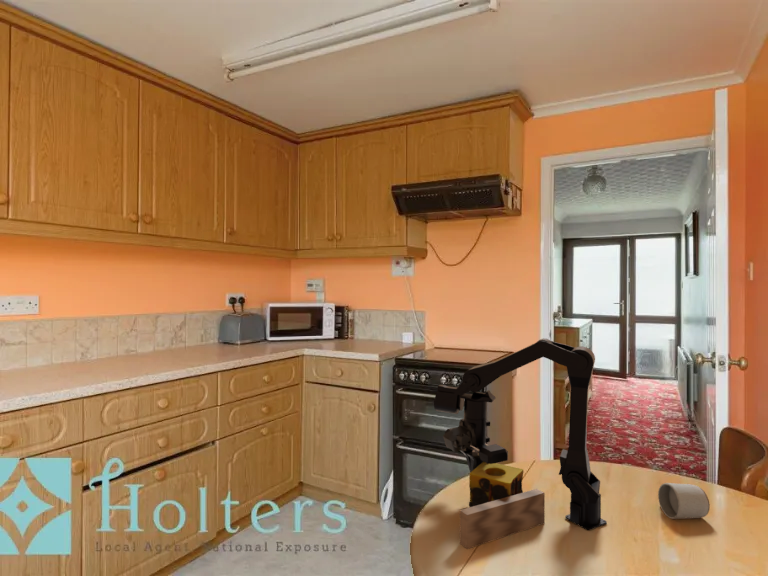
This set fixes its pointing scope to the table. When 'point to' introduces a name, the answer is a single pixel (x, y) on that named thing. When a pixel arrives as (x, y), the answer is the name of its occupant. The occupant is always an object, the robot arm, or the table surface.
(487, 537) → the brown wooden board
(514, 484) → the spotted yellow cube
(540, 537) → the table surface
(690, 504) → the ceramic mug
